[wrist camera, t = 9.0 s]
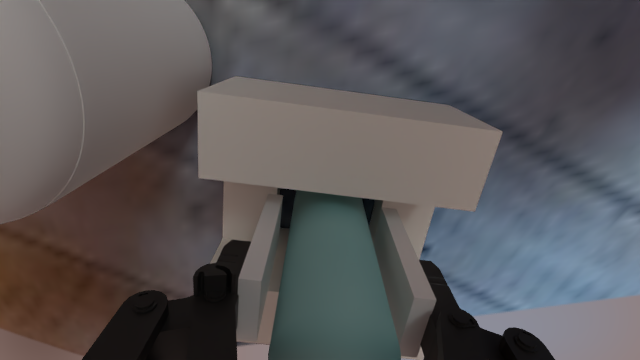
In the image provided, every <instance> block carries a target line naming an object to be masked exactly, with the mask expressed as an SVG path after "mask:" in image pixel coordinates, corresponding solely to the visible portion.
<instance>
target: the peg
mask: <svg viewBox="0 0 640 360" xmlns="http://www.w3.org/2000/svg"><path fill="white" fill-rule="evenodd" d="M268 360H401V351H400V346H399V342H398V338H397V334H396V330H395V327H394V323H393V319H392V315H391V311H390V307H389V303H388V299H387V295H386V291H385V288H384V284H383V280H382V276H381V272H380V268H379V264H378V260H377V256H376V252H375V249H374V245H373V241H372V237H371V233H370V229H369V225H368V221H367V217H366V213H365V210H364V206H363V202H362V198H359V197H351V196H342V195H334V194H326V193H318V192H309V191H301V190H296V195H295V200H294V206H293V212H292V218H291V224H290V230H289V236H288V242H287V247H286V253H285V259H284V265H283V271H282V277H281V283H280V288H279V294H278V300H277V306H276V312H275V318H274V324H273V329H272V335H271V341H270V347H269V353H268Z"/></svg>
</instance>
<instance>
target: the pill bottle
mask: <svg viewBox="0 0 640 360" xmlns="http://www.w3.org/2000/svg"><path fill="white" fill-rule="evenodd" d="M211 75H212V58H211V51H210V46H209V43H208V39H207V36H206V34H205V31H204V29H203V27H202V25H201V23H200V21H199V19H198V18H197V16H196V15H195V13H194V12H193V10H192V9H191V8H190V6H189V5H188V4H187V3H186V2H185V1H184V0H0V224H3V223H7V222H11V221H15V220H19V219H22V218H24V217H27V216H29V215H31V214H34V213H36V212H38V211H40V210H42V209H43V208H45V207H47V206H49V205H51V204H52V203H54V202H56V201H57V200H59V199H61V198H62V197H64V196H65V195H67V194H69V193H70V192H72V191H73V190H75V189H77V188H78V187H80V186H82V185H83V184H85V183H86V182H88V181H90V180H91V179H93V178H94V177H96V176H98V175H99V174H101V173H103V172H104V171H106V170H107V169H109V168H111V167H112V166H114V165H116V164H117V163H119V162H120V161H122V160H124V159H125V158H127V157H128V156H130V155H132V154H133V153H135V152H137V151H138V150H140V149H141V148H143V147H145V146H146V145H148V144H149V143H151V142H153V141H154V140H156V139H158V138H159V137H161V136H162V135H164V134H166V133H167V132H169V131H170V130H172V129H174V128H175V127H177V126H179V125H180V124H182V123H183V122H185V121H186V120H187V119H188V118H189V117H190V116H192V114H193V113H194V112H195V111H196V110H197V109H198V103H197V91H199V90H201V89H204V88H207V87H209V85H210V81H211Z"/></svg>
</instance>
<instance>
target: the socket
mask: <svg viewBox="0 0 640 360" xmlns="http://www.w3.org/2000/svg"><path fill="white" fill-rule="evenodd" d="M197 103H198V178H202V179H210V180H219V181H224V190H223V239H222V241H221V243H220V245H219V247H218V248H217V250H216V252H215V254H214V256H213V258H212V260H211V262H210V264H211V263H216V262H217V260H218V258H219V255H220V253H221V251H222V249H223V247H224V245H226V244H227V243H228V242H230V241H231V240H232V239H233V240H241V241H250V242H251V241H252V238H253V236H254V233H255V230H256V227H257V224H258V222H259V219H260V216H261V213H262V210H263V207H264V205H265V202H266V199H267V196H268V194H276V195H280V188H285V189H293V190H301V191H309V192H318V193H326V194H334V195H342V196H351V197H359V198H367V199H375V201H374V206H373V211H372V215H371V220H370V225H369V229H370V233H371V237H372V241H373V244H374V239H375V235H376V231H377V226H378V222H379V218H380V213H381V209H382V207H384V208H392V209H396V210H397V212H398V214H399V216H400V219H401V221H402V223H403V226H404V228H405V230H406V232H407V235H408V237H409V239H410V241H411V244H412V246H413V248H414V250H415V253H416V255H417V257H418V259H420V255H421V252H422V249H423V245H424V242H425V239H426V235H427V232H428V229H429V225H430V222H431V218H432V215H433V212H434V208H435V207H441V208H449V209H458V210H466V211H474V212H475V210H476V207H477V204H478V201H479V198H480V195H481V193H482V190H483V187H484V184H485V181H486V178H487V176H488V173H489V170H490V167H491V164H492V161H493V158H494V156H495V153H496V150H497V147H498V144H499V141H500V139H501V136H502V133H503V131H501V130H498V129H496V128H494V127H492V126H490V125H488V124H486V123H484V122H482V121H480V120H478V119H476V118H474V117H472V116H470V115H468V114H466V113H464V112H462V111H460V110H458V109H456V108H454V107H452V106H450V105H445V104H438V103H430V102H423V101H415V100H408V99H401V98H393V97H386V96H379V95H371V94H364V93H356V92H349V91H342V90H334V89H327V88H320V87H312V86H305V85H297V84H290V83H283V82H275V81H268V80H261V79H253V78H246V77H238V76H235V77H232V78H229V79H227V80H224V81H222V82H219V83H217V84H214V85H212V86H209V87H207V88H204V89H201V90H199V91H197ZM289 230H290V229H289V228H280V233H279V242H278V246H277V251H276V256H275V260H274V265H273V269H272V274H271V278H270V283H269V288H268V292H267V297H266V301H265V306H264V310H263V315H262V320H261V324H260V329H259V333H258V338H257V341H247V340H237V339H236V341H237V342H246V343H256V344H266V345H270V341H271V335H272V329H273V324H274V318H275V312H276V306H277V300H278V294H279V288H280V283H281V277H282V271H283V265H284V259H285V253H286V247H287V242H288V236H289ZM401 358H406V359H416V360H423V358H424V354H423V351H422V348H421V347H420V350H419V353H418V356H417V358H416V357H406V356H401Z"/></svg>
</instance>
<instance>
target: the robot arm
mask: <svg viewBox="0 0 640 360" xmlns="http://www.w3.org/2000/svg"><path fill="white" fill-rule="evenodd" d="M282 202H283V195H276V194H268V196H267V199H266V202H265V205H264V207H263V210H262V213H261V216H260V219H259V222H258V224H257V227H256V230H255V233H254V236H253V238H252V241H251V242H250V241H241V240H233V239H232V240H231V241H230V242H228V243H227V244H226V245H224V247H223V249H222V251H221V253H220V255H219V258H218V260H217V262H216V263H211V264H207V265H205V266H202V267H200V268H199V269H198V270H197V271H196V272H195V274H194V276H193V282H194V295H193V296H190V297H188V298H183V299H177V300H169V301H168V300H167V297H166V295H165V294H163V293H162V292H159V291H155V290H151V291H143V292H139V293H136V294H134V295H133V296H131V297H129V298H128V299H127V300H126V301H125V302H124V303H123V304H122V305H121V307H120V308H119V310H118V311H117V312H116V314H115V315H114V316H113V318H112V319H111V321H110V322H109V323H108V325H107V326H106V327H105V329H104V330H103V331H102V333H101V334H100V336H99V337H98V338H97V340H96V341H95V342H94V344H93V345H92V346H91V348H90V349H89V351H88V352H87V353H86V355H85V356H84V357H83V359H82V360H237V341H236V339H237V340H247V341H257V338H258V333H259V329H260V324H261V320H262V315H263V310H264V306H265V301H266V297H267V292H268V288H269V283H270V278H271V274H272V269H273V265H274V260H275V256H276V251H277V246H278V242H279V233H280V223H281V213H282ZM373 245H374V249H375V252H376V256H377V260H378V264H379V268H380V272H381V276H382V280H383V284H384V288H385V291H386V295H387V299H388V303H389V307H390V311H391V315H392V319H393V323H394V327H395V330H396V334H397V338H398V342H399V346H400V351H401V356H406V357H416V358H417V356H418V353H419V350H420V347H421V348H422V351H423V354H424V360H555V359H554V358H553V356H552V355H551V353H550V352H549V350H548V349H547V348H546V346H545V345H544V344H543V343H542V342H541V341H540V340H539V339H538V338H537V337H535V336H534V335H533V334H531V333H529V332H527V331H525V330H523V329H519V328H508V329H507V330H505V331H504V334H503V336H501V335H499V334H496V333H493V332H490V331H487V330H484V329H482V328H480V327H479V325H478V323H477V321H476V320H475V319H474V318H473V317H472V315H470V314H469V313H467V312H466V311H464V310H462V309H460V308H459V306H458V304H457V302H456V300H455V298H454V296H453V294H452V292H451V290H450V289H449V287H448V286H447V283H446V281H445V279H444V277H443V275H442V273H441V271H440V269H439V268H438V267H437V266H436V265H435V264H433V263H432V262H431V261H424V260H419V259H418V257H417V255H416V253H415V250H414V248H413V246H412V244H411V241H410V239H409V237H408V235H407V232H406V230H405V228H404V226H403V223H402V221H401V219H400V216H399V214H398V212H397V210H396V209H392V208H384V207H382V209H381V213H380V218H379V222H378V226H377V231H376V235H375V239H374V244H373Z"/></svg>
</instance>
